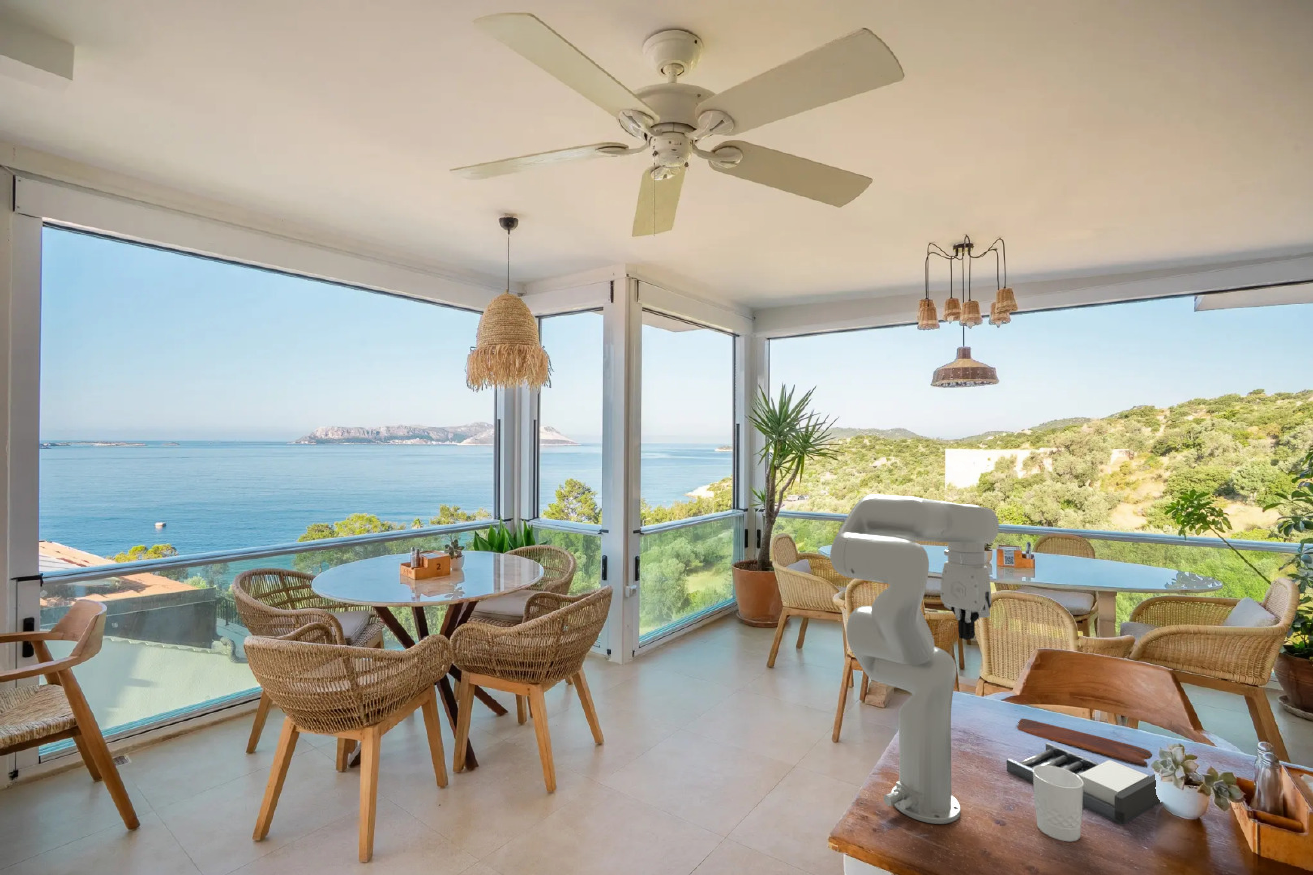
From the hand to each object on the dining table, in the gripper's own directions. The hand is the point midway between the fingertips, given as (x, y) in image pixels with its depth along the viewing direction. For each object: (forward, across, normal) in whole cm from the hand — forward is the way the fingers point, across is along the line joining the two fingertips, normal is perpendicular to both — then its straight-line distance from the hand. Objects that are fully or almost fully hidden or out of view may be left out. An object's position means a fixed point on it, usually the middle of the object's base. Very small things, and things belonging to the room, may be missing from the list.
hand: (966, 637), depth 140 cm
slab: (+25, +25, +10) cm, 37 cm away
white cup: (+27, +25, -10) cm, 38 cm away
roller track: (+27, +19, +10) cm, 35 cm away
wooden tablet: (+28, +8, +31) cm, 43 cm away
